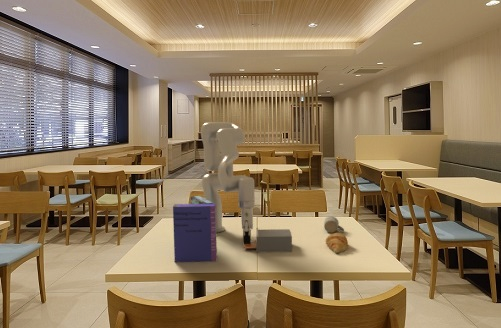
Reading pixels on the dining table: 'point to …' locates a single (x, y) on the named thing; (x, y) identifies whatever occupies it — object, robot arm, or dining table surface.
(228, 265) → the dining table surface
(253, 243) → the orange stepped block
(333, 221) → the ceramic mug
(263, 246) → the grey boxy piece
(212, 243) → the cereal box
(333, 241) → the croissant
